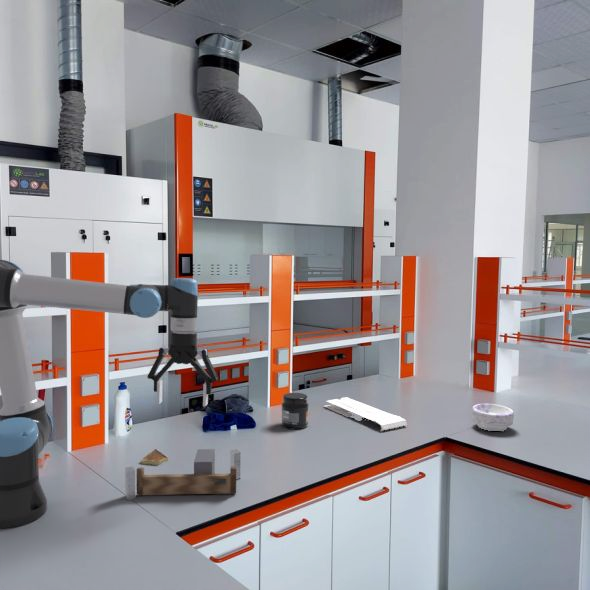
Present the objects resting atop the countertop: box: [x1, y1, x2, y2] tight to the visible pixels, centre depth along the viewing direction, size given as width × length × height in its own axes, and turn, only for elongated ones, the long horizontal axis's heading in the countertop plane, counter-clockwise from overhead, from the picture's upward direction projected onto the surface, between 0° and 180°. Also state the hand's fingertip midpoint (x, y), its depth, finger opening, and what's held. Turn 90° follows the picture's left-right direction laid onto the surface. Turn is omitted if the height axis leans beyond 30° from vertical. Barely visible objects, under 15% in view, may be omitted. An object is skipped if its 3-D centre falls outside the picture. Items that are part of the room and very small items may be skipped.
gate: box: [136, 466, 237, 496], centre depth 153 cm, size 27×3×7 cm, turn 94°
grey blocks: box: [124, 448, 241, 501], centre depth 158 cm, size 33×3×8 cm, turn 118°
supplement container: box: [281, 392, 309, 430], centre depth 215 cm, size 10×10×12 cm
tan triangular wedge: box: [140, 448, 169, 466], centre depth 180 cm, size 11×8×2 cm
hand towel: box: [323, 396, 408, 432], centre depth 229 cm, size 12×4×40 cm
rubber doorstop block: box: [193, 448, 216, 474], centre depth 159 cm, size 5×10×9 cm, turn 4°
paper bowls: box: [471, 403, 515, 432], centre depth 215 cm, size 15×15×8 cm
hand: (182, 404), depth 161 cm, fingers open, 13 cm apart
